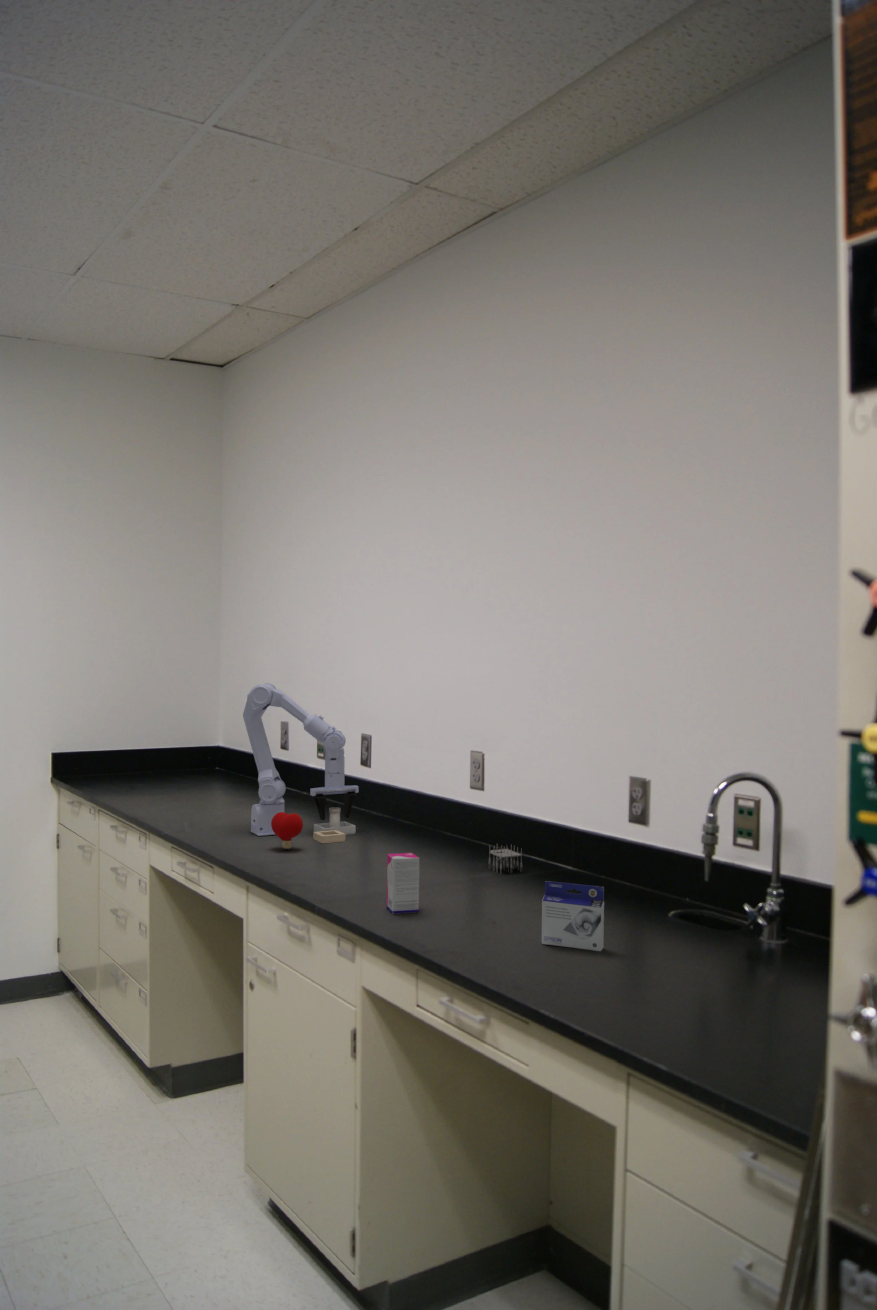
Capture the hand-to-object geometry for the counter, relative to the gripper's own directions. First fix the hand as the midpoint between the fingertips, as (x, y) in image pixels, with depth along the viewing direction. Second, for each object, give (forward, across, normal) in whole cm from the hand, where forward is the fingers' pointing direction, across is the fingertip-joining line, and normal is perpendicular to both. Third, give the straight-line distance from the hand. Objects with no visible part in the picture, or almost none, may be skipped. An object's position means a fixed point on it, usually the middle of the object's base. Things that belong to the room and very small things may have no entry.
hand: (334, 818), depth 286 cm
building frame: (+5, +20, -62) cm, 66 cm away
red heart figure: (+5, -20, -16) cm, 26 cm away
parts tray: (+4, 0, 0) cm, 4 cm away
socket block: (+4, -5, -8) cm, 11 cm away
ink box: (+5, -1, -120) cm, 121 cm away
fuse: (+4, 0, 0) cm, 4 cm away
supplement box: (+5, -18, -84) cm, 86 cm away
